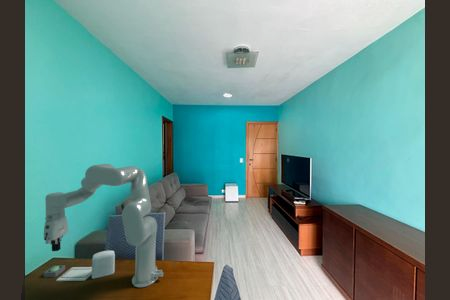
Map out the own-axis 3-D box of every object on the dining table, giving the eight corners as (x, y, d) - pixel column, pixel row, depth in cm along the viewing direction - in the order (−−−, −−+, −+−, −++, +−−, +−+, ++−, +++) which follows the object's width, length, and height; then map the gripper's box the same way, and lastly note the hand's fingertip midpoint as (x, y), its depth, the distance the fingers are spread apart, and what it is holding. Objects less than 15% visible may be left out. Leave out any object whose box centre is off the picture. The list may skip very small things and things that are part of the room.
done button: (61, 270, 100) (61, 265, 100) (55, 274, 96) (55, 270, 96) (54, 270, 100) (54, 266, 100) (48, 274, 96) (48, 270, 96)
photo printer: (115, 269, 101) (115, 247, 101) (114, 274, 97) (114, 251, 98) (92, 275, 97) (92, 251, 97) (90, 280, 93) (91, 256, 93)
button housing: (65, 269, 101) (65, 265, 101) (55, 277, 95) (55, 272, 95) (54, 269, 101) (54, 265, 101) (43, 277, 95) (43, 272, 95)
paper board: (97, 267, 103) (97, 266, 103) (84, 280, 93) (84, 279, 93) (72, 268, 102) (72, 267, 102) (56, 281, 92) (56, 279, 92)
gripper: (49, 221, 91) (50, 258, 91) (73, 211, 106) (74, 243, 106) (34, 221, 90) (35, 258, 90) (60, 211, 105) (60, 243, 105)
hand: (56, 250), depth 98 cm, fingers closed
